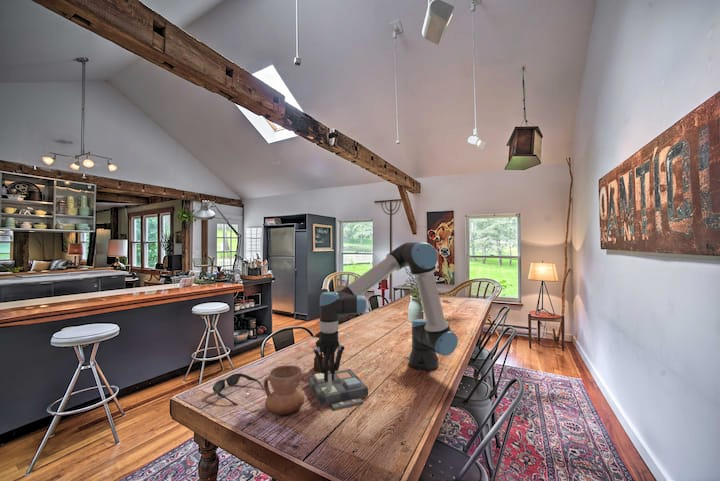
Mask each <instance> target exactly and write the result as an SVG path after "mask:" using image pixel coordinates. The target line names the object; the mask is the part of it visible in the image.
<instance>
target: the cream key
mask: <svg viewBox="0 0 720 481" xmlns="http://www.w3.org/2000/svg"><path fill="white" fill-rule="evenodd" d="M314 375H315V380H316V382H317V383H322V382H325V381H324V373H323V374H322V373H319V372H318V373H314Z"/></svg>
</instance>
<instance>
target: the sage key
mask: <svg viewBox="0 0 720 481" xmlns="http://www.w3.org/2000/svg"><path fill="white" fill-rule="evenodd" d="M321 390H322V392H323V394H328V393H333V392H338V391H337V389H336V388H335V387H334V385H332V390H330V391H328V390H327V388H326V387H322V388H321Z"/></svg>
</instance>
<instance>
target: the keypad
mask: <svg viewBox="0 0 720 481" xmlns="http://www.w3.org/2000/svg"><path fill="white" fill-rule="evenodd" d="M343 372H348V373H349V374H350V375H351V376H352V377H348V378H343V379H339V378H338V376H337V375H336V374H338V373H343ZM307 377H308V378H307V379H308V381H307V383H308V387H309V388H310V391H312V394H313V395H314V397H315V400H316V401H317V403H318V405H319V407H320V408H322V407H326V406H331V404H333V403H338V402H342V401H346V400H351V399H355V398H361V399H362V398H366V397H369V387H368V386H367V385H366V384H365V383H364V382H363V381H362V380H361V379H360V378H359V376H357V375H356V374H355V372H354V371H353V370H352V369H351V368H347V369H342V370H338V371H335V373H334V381H332V385H334V387H335V388H336V389H337V391H338V392H333V393H328V394H323V392H322V390H321V388H322V387H326V382H322V383H317V382H316V380H315V374H313V375H309V376H307ZM354 377H356V378H357V379H358V380H359V381H360V383H361V387H357V388H352V389H347V388H346V386H345V385H344V379H349V378H354Z"/></svg>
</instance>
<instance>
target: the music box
mask: <svg viewBox="0 0 720 481" xmlns="http://www.w3.org/2000/svg"><path fill="white" fill-rule="evenodd" d="M311 338H312V339H314V338H315V339H316V341H315V348H317V347H319V343H320V331H319V332H317V333H316V334H314V335H311ZM319 354H320V357H321V362H322V366H323V369H324V355H323V352H322V351H321V349H320V353H319ZM314 355H315V356H314V358H313V361H314V362H313V370H314V372H316V373H318V374H319V373H321V372H320V370H319V367H318V362H317V358H316V354H314ZM334 365H335V360H334ZM329 371H330V354H329V357H328V372H329Z"/></svg>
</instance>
